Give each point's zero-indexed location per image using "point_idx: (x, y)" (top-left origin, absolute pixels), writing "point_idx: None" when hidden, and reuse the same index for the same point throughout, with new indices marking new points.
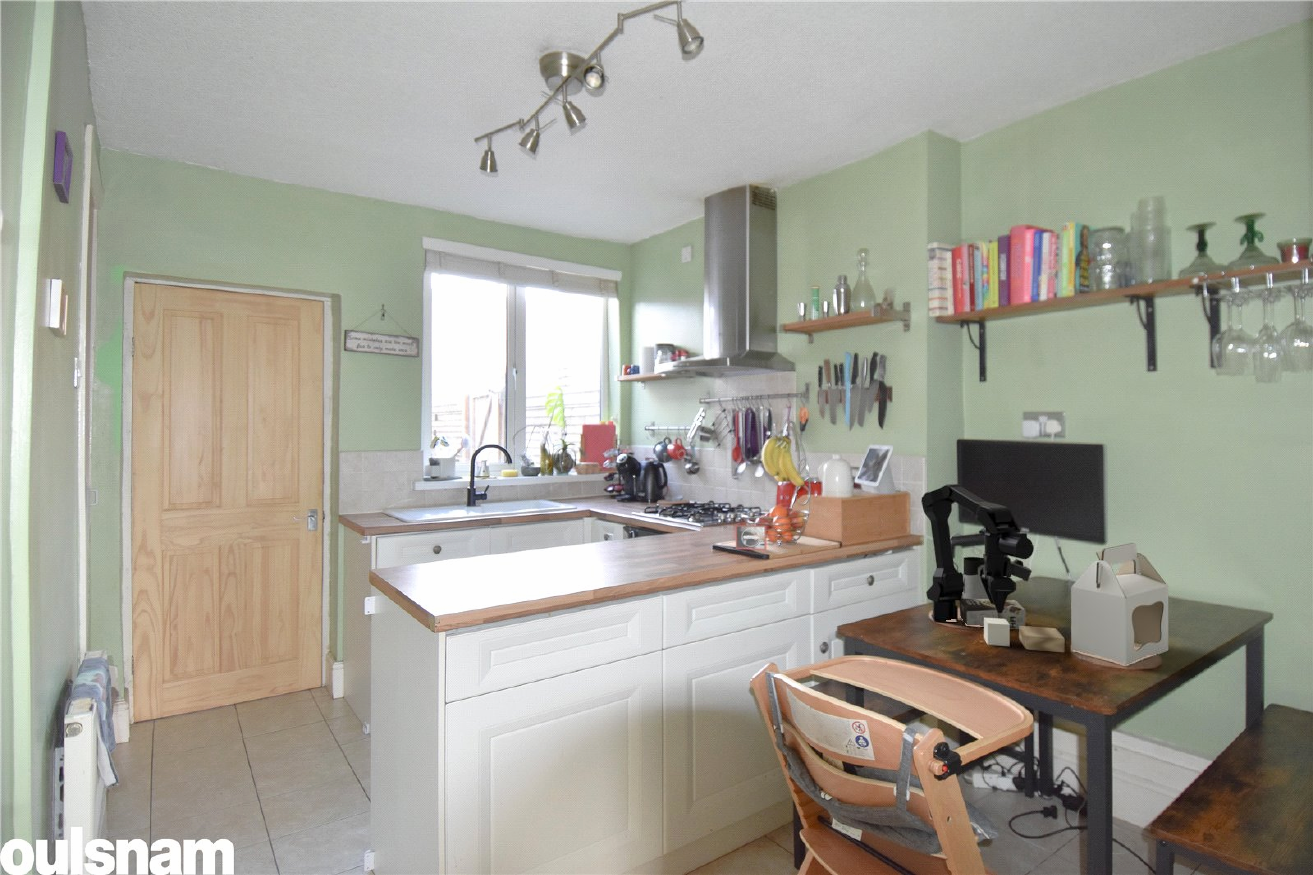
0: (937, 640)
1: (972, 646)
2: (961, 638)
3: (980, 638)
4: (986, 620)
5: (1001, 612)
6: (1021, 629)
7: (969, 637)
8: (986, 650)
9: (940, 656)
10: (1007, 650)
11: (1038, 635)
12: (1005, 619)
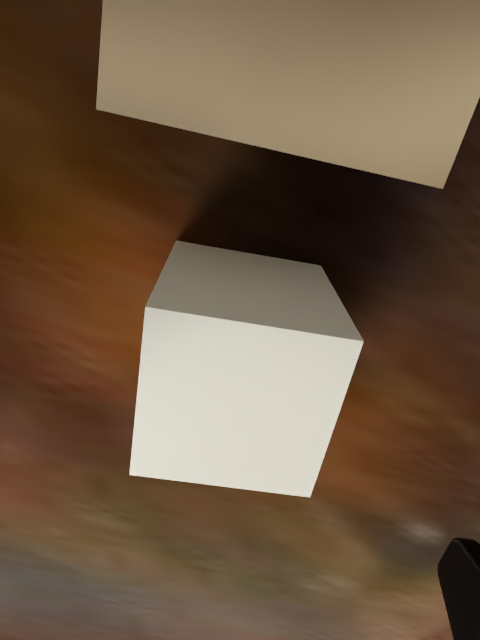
0: (223, 575)
1: None
2: None
3: None
4: (226, 483)
5: (477, 552)
6: (225, 138)
7: None
8: (391, 425)
9: None
10: (405, 313)
11: (459, 42)
12: (171, 311)
